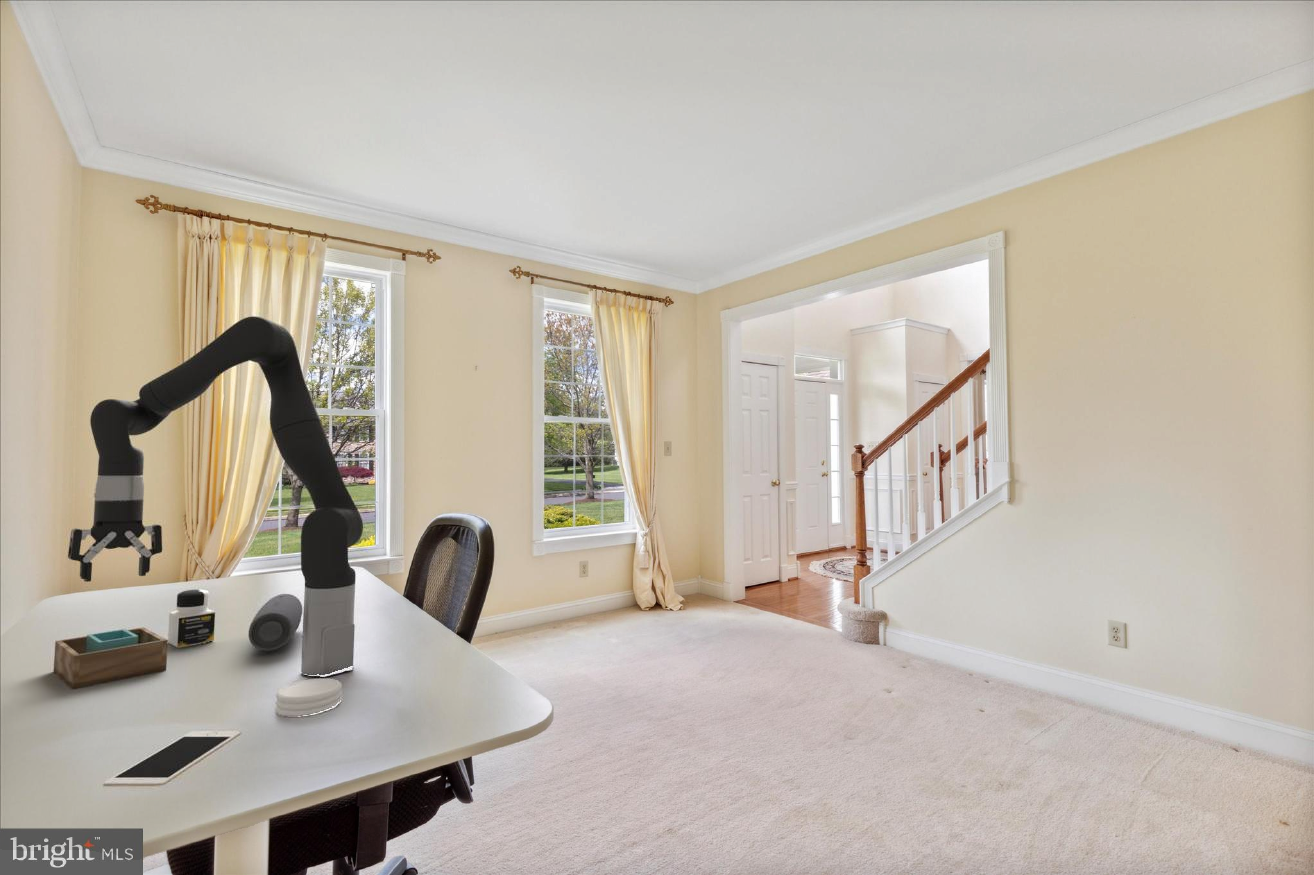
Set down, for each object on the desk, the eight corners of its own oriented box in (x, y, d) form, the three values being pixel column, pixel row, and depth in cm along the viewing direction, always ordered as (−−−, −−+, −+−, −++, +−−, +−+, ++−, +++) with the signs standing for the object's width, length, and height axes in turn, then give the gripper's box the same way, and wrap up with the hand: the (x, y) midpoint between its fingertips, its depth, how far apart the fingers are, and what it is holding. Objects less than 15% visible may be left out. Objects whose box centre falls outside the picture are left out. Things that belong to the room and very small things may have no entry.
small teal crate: (136, 666, 124) (138, 636, 124) (97, 674, 119) (99, 642, 120) (123, 657, 129) (125, 628, 130) (85, 664, 125) (87, 634, 125)
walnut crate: (166, 670, 125) (167, 639, 125) (72, 689, 114) (74, 656, 114) (142, 655, 135) (143, 627, 135) (53, 671, 123) (55, 640, 124)
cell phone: (242, 735, 96) (242, 730, 96) (162, 788, 80) (163, 783, 80) (191, 734, 96) (191, 730, 96) (101, 788, 80) (101, 783, 80)
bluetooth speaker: (260, 633, 153) (262, 592, 154) (303, 629, 157) (305, 590, 158) (243, 659, 133) (245, 612, 133) (293, 654, 137) (295, 608, 137)
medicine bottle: (177, 648, 140) (180, 594, 141) (167, 642, 144) (170, 590, 145) (214, 641, 146) (216, 590, 146) (203, 636, 150) (206, 586, 151)
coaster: (266, 721, 101) (267, 699, 101) (285, 699, 111) (286, 679, 111) (334, 715, 104) (335, 694, 104) (346, 694, 113) (347, 675, 113)
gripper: (76, 499, 118) (72, 585, 117) (168, 497, 130) (165, 575, 129) (67, 498, 123) (63, 581, 122) (157, 496, 134) (153, 572, 133)
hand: (115, 578), depth 125 cm, fingers open, 8 cm apart
